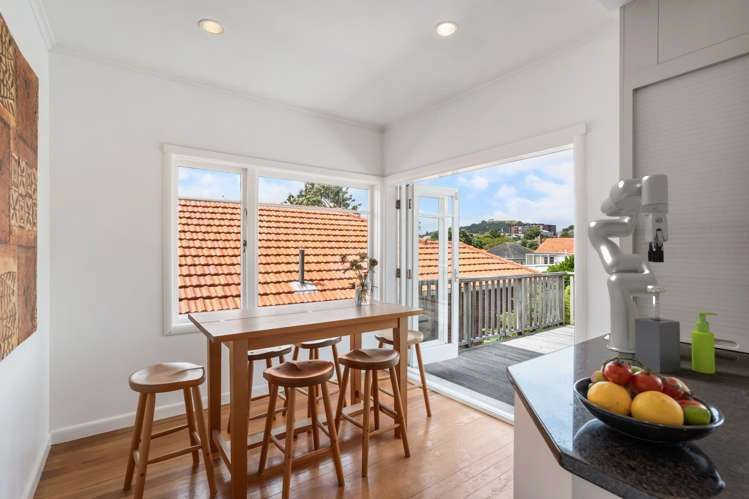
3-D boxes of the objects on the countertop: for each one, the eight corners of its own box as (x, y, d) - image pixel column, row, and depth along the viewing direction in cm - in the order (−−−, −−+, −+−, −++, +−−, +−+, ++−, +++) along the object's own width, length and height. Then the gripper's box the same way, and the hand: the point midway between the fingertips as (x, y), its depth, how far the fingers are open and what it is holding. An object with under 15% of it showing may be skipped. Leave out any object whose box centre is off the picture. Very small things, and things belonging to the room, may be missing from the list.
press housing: (635, 365, 135) (634, 318, 135) (655, 362, 137) (654, 317, 137) (659, 373, 126) (659, 323, 126) (680, 370, 128) (679, 321, 128)
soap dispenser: (722, 374, 124) (721, 313, 124) (698, 373, 126) (697, 313, 125) (710, 368, 130) (709, 310, 130) (688, 367, 131) (687, 310, 131)
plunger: (641, 338, 134) (640, 285, 134) (655, 337, 135) (654, 284, 135) (658, 343, 128) (657, 287, 128) (673, 341, 129) (672, 286, 129)
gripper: (675, 207, 122) (676, 263, 122) (661, 211, 138) (662, 261, 138) (647, 208, 125) (648, 263, 125) (636, 212, 141) (637, 261, 141)
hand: (655, 261), depth 132 cm, fingers open, 5 cm apart
